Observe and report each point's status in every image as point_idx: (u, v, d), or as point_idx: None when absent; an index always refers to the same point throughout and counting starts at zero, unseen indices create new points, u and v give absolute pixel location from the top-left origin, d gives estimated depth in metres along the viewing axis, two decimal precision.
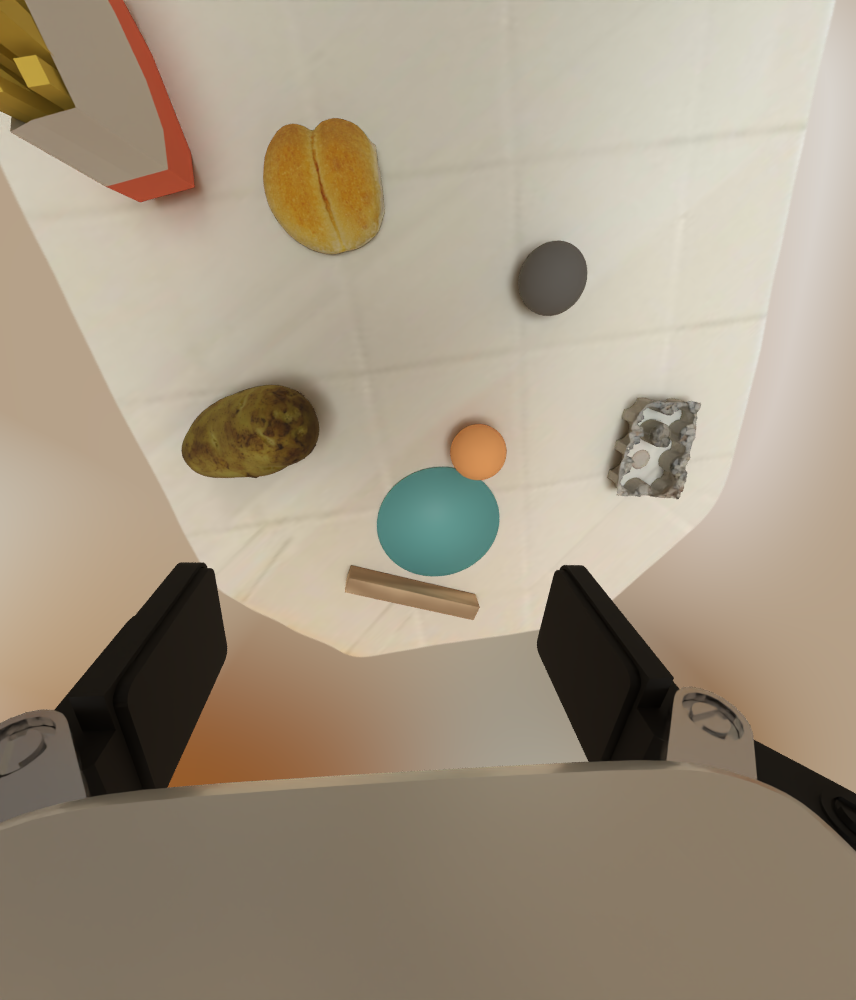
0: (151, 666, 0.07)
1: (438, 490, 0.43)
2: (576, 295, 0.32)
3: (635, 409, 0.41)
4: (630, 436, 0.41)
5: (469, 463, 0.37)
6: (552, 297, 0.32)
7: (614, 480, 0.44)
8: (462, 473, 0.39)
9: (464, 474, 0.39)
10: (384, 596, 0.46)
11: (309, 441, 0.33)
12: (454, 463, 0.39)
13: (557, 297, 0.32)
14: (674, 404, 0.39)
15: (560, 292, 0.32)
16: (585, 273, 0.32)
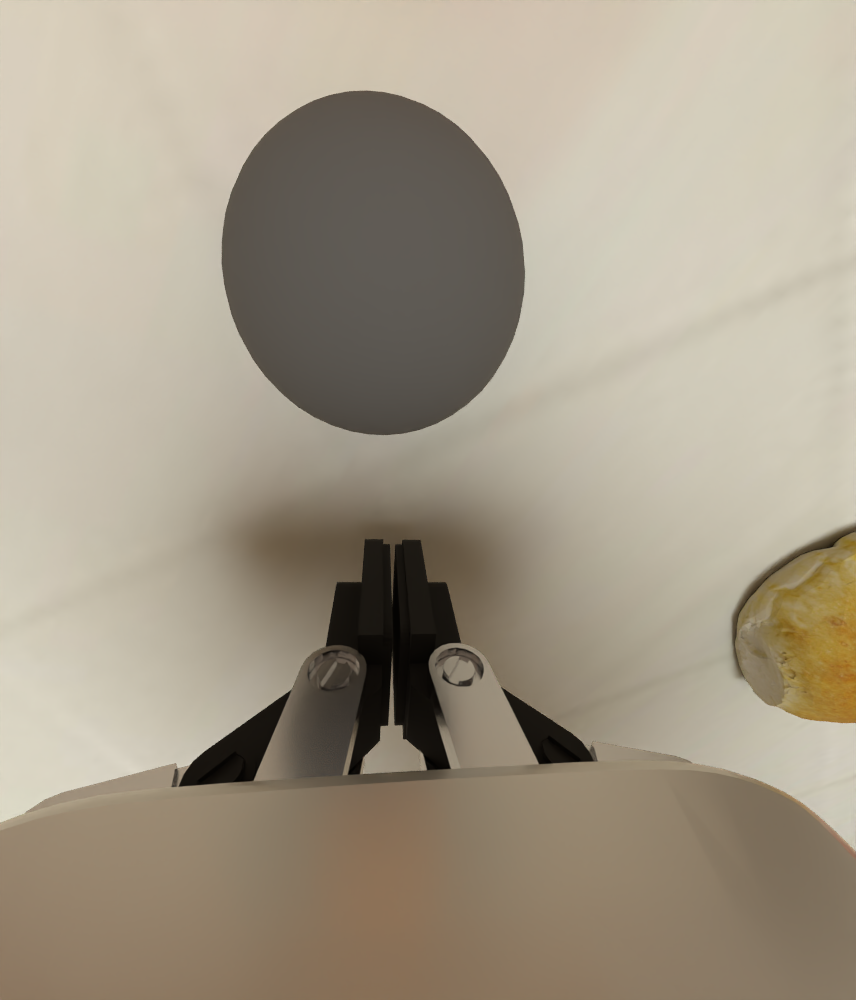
0: None
1: None
2: None
3: None
4: None
5: None
6: None
7: None
8: None
9: None
10: None
11: None
12: None
13: None
14: None
15: None
16: None
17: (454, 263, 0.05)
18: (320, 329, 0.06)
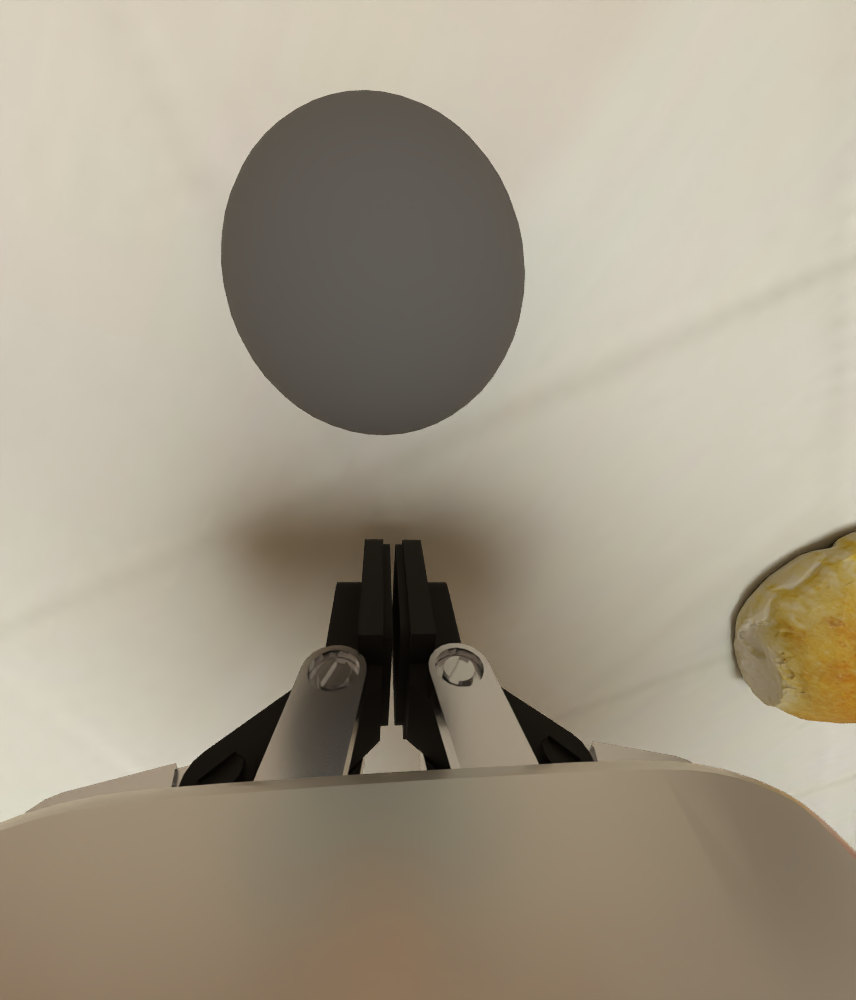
0: (391, 617, 0.09)
1: None
2: None
3: None
4: None
5: None
6: None
7: None
8: None
9: None
10: None
11: None
12: None
13: None
14: None
15: None
16: None
17: (454, 263, 0.05)
18: (320, 329, 0.06)
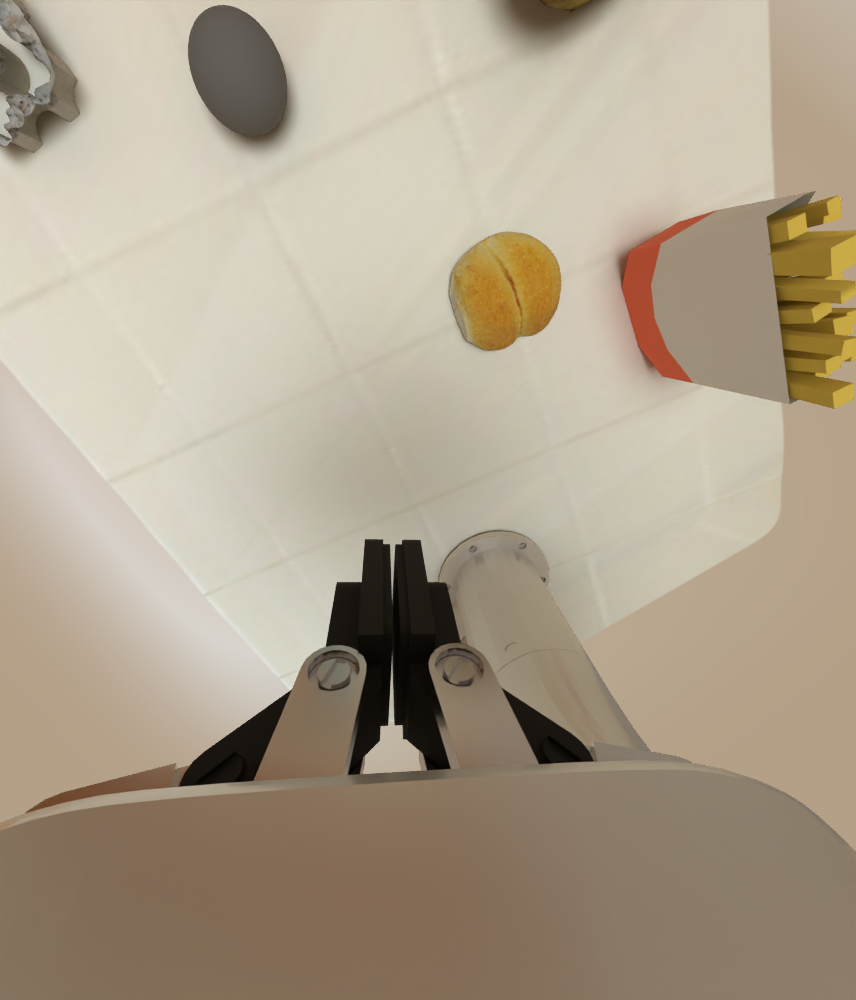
0: None
1: None
2: None
3: (61, 80, 0.25)
4: (15, 7, 0.23)
5: None
6: None
7: None
8: None
9: None
10: None
11: None
12: None
13: None
14: (21, 114, 0.24)
15: None
16: None
17: (244, 46, 0.22)
18: (212, 64, 0.22)
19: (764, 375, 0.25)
